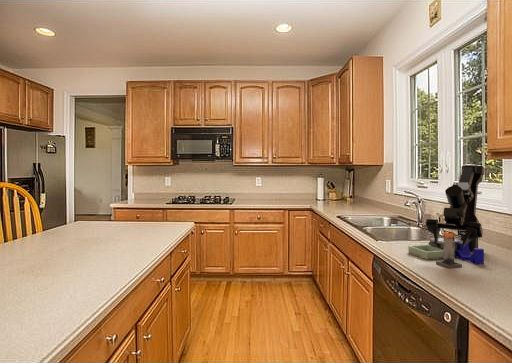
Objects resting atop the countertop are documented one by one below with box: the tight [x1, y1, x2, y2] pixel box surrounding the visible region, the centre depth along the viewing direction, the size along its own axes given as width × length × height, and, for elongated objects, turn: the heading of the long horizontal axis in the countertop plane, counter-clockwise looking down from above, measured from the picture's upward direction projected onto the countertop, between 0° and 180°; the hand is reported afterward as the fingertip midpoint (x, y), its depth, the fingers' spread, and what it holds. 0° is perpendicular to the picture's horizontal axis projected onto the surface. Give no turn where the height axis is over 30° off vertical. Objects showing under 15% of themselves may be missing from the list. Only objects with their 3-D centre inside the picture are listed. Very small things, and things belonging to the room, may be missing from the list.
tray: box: [407, 244, 444, 261], centre depth 142 cm, size 9×12×3 cm
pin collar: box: [435, 260, 463, 269], centre depth 127 cm, size 6×6×1 cm
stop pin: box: [443, 231, 456, 265], centre depth 127 cm, size 4×4×12 cm
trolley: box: [427, 237, 463, 254], centre depth 145 cm, size 13×12×6 cm
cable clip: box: [454, 243, 485, 265], centre depth 134 cm, size 12×4×6 cm, turn 175°
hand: (448, 244), depth 127 cm, fingers open, 9 cm apart
